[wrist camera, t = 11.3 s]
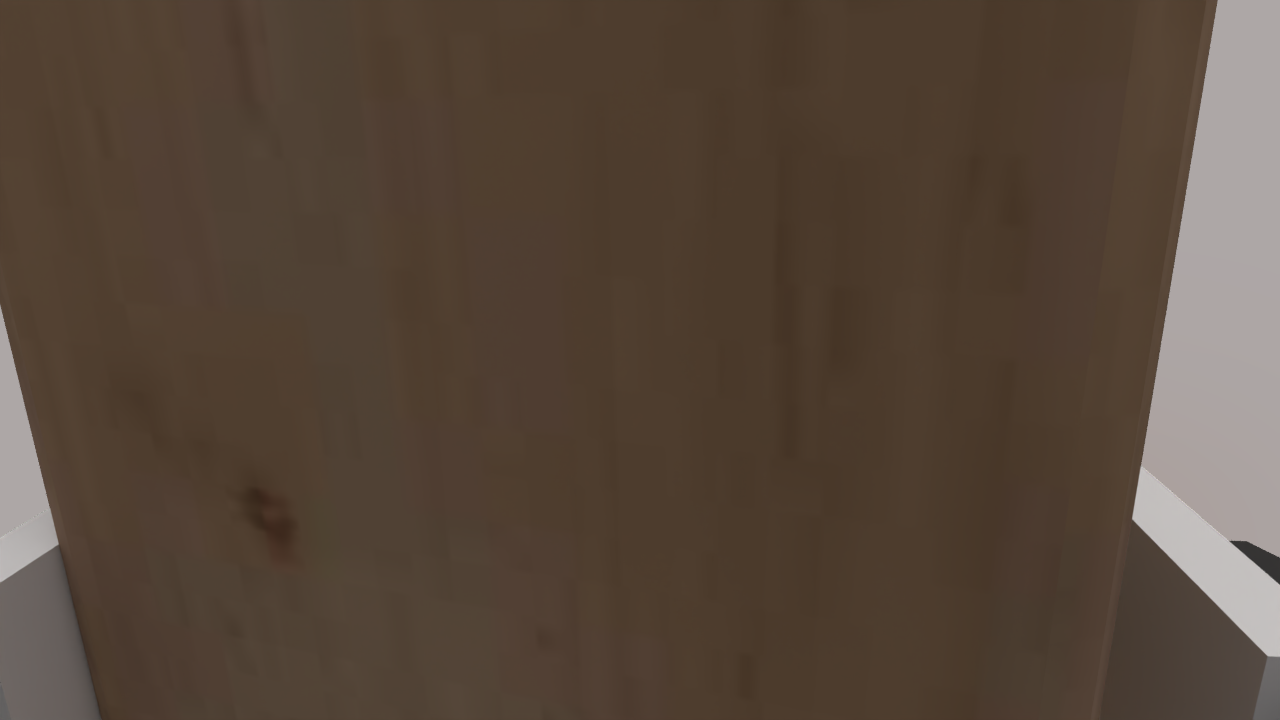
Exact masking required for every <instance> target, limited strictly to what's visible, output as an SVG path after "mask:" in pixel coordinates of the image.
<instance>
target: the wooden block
mask: <svg viewBox="0 0 1280 720" xmlns="http://www.w3.org/2000/svg"><path fill="white" fill-rule="evenodd" d="M1216 6H1217V0H0V305H1V309H2V313H3V318H4V322H5V326H6V329H7V334H8V338H9V342H10V346H11V350H12V354H13V358H14V363H15V367H16V371H17V375H18V379H19V383H20V387H21V391H22V395H23V399H24V404H25V408H26V411H27V416H28V420H29V424H30V428H31V432H32V436H33V440H34V445H35V449H36V453H37V457H38V461H39V465H40V469H41V473H42V477H43V481H44V486H45V489H46V494H47V498H48V502H49V506H50V510H51V514H52V518H53V523H54V527H55V531H56V535H57V539H58V543H59V547H60V551H61V555H62V559H63V564H64V568H65V572H66V576H67V580H68V584H69V588H70V592H71V596H72V601H73V605H74V609H75V613H76V617H77V621H78V625H79V629H80V633H81V637H82V642H83V646H84V650H85V654H86V658H87V662H88V666H89V670H90V674H91V678H92V683H93V687H94V691H95V695H96V699H97V703H98V707H99V711H100V715H101V719H102V720H1099V717H1100V711H1101V705H1102V699H1103V693H1104V687H1105V681H1106V675H1107V668H1108V662H1109V656H1110V650H1111V644H1112V638H1113V632H1114V626H1115V620H1116V614H1117V608H1118V602H1119V596H1120V590H1121V583H1122V577H1123V571H1124V565H1125V559H1126V553H1127V547H1128V541H1129V535H1130V529H1131V523H1132V517H1133V511H1134V504H1135V498H1136V492H1137V486H1138V480H1139V474H1140V468H1141V462H1142V456H1143V450H1144V444H1145V438H1146V432H1147V426H1148V419H1149V413H1150V407H1151V401H1152V395H1153V389H1154V383H1155V377H1156V371H1157V365H1158V359H1159V352H1160V347H1161V340H1162V334H1163V328H1164V321H1165V316H1166V310H1167V304H1168V298H1169V292H1170V286H1171V280H1172V273H1173V268H1174V262H1175V255H1176V249H1177V243H1178V237H1179V231H1180V225H1181V219H1182V213H1183V207H1184V201H1185V195H1186V189H1187V182H1188V176H1189V170H1190V164H1191V158H1192V152H1193V146H1194V140H1195V134H1196V128H1197V122H1198V115H1199V110H1200V103H1201V98H1202V92H1203V85H1204V79H1205V73H1206V67H1207V61H1208V55H1209V49H1210V43H1211V36H1212V31H1213V24H1214V19H1215V12H1216Z"/></svg>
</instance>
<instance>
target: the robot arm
mask: <svg viewBox="0 0 1280 720" xmlns="http://www.w3.org/2000/svg"><path fill="white" fill-rule="evenodd" d="M0 720H102V719H101V715H100V711H99V707H98V703H97V699H96V695H95V691H94V687H93V683H92V678H91V674H90V670H89V666H88V662H87V658H86V654H85V650H84V646H83V642H82V637H81V633H80V629H79V625H78V621H77V617H76V613H75V609H74V605H73V601H72V596H71V592H70V588H69V584H68V580H67V576H66V572H65V568H64V564H63V559H62V555H61V551H60V547H59V543H58V539H57V535H56V531H55V527H54V523H53V518H52V514H51V510H50V508H49V509H47V510H45V511H44V512H42V513H40V514H39V515H37V516H35V517H34V518H32V519H31V520H29V521H27V522H25V523H24V524H22V525H20V526H19V527H17V528H15V529H13V530H12V531H10V532H9V533H7V534H5V535H3V536H2V537H0ZM1099 720H1280V558H1279V557H1277V556H1275V555H1273V554H1271V553H1269V552H1267V551H1265V550H1263V549H1261V548H1259V547H1257V546H1255V545H1253V544H1251V543H1249V542H1247V541H1228V540H1227V539H1226V538H1225V537H1224V536H1222V535H1221V534H1220V533H1219V532H1218V531H1217V530H1215V529H1214V528H1213V527H1212V526H1211V525H1210V524H1209V523H1207V522H1206V521H1205V520H1204V519H1203V518H1202V517H1200V516H1199V515H1198V514H1197V513H1196V512H1194V511H1193V510H1192V509H1191V508H1190V507H1189V506H1188V505H1186V504H1185V503H1184V502H1183V501H1182V500H1181V499H1179V498H1178V497H1177V496H1176V495H1175V494H1174V493H1172V492H1171V491H1170V490H1169V489H1168V488H1167V487H1166V486H1164V485H1163V484H1162V483H1161V482H1160V481H1158V480H1157V479H1156V478H1155V477H1154V476H1153V475H1151V474H1150V473H1149V472H1148V471H1147V470H1146V469H1144V468H1143V467H1142V466H1141V468H1140V474H1139V480H1138V486H1137V492H1136V498H1135V504H1134V511H1133V517H1132V523H1131V529H1130V535H1129V541H1128V547H1127V553H1126V559H1125V565H1124V571H1123V577H1122V583H1121V590H1120V596H1119V602H1118V608H1117V614H1116V620H1115V626H1114V632H1113V638H1112V644H1111V650H1110V656H1109V662H1108V668H1107V675H1106V681H1105V687H1104V693H1103V699H1102V705H1101V711H1100V717H1099Z"/></svg>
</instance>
